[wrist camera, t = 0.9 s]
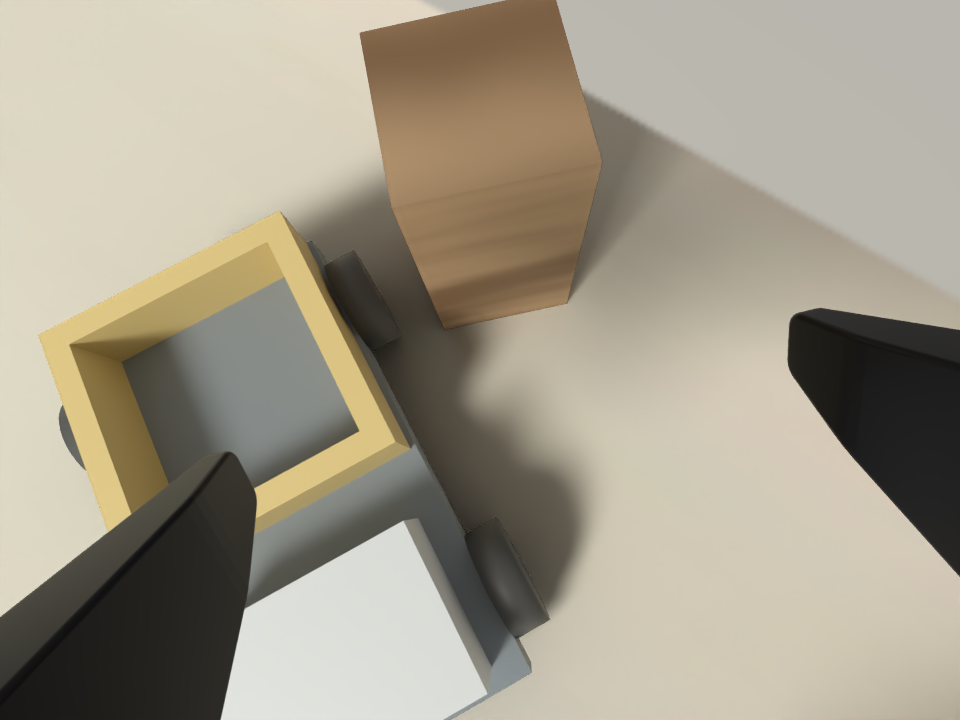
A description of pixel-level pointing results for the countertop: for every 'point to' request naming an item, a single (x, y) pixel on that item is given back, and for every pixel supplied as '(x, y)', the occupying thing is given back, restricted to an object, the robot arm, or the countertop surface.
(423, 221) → the walnut block
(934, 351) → the robot arm
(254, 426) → the toy chassis
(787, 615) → the countertop surface
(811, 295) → the countertop surface
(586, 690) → the countertop surface
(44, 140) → the countertop surface
